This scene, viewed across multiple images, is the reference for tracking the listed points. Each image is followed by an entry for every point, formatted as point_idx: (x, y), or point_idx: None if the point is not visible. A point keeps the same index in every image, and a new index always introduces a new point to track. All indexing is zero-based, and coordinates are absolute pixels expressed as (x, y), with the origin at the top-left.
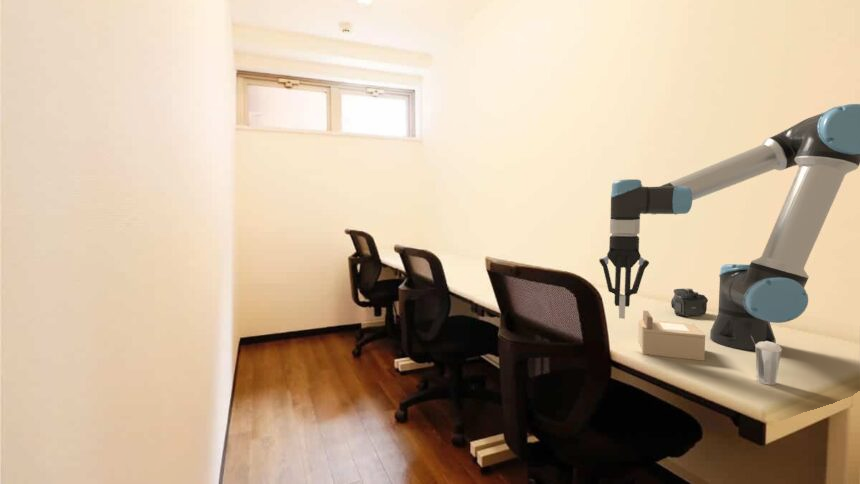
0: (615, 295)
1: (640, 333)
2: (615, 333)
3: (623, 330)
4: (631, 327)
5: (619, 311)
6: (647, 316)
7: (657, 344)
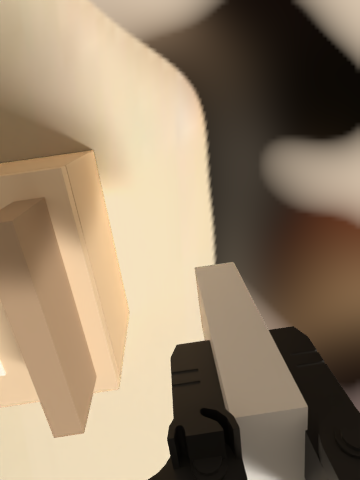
0: (354, 414)
1: (109, 286)
2: None
3: None
4: None
5: (243, 286)
6: (25, 279)
7: (13, 165)
